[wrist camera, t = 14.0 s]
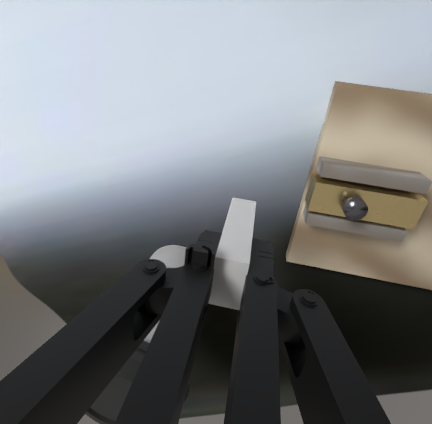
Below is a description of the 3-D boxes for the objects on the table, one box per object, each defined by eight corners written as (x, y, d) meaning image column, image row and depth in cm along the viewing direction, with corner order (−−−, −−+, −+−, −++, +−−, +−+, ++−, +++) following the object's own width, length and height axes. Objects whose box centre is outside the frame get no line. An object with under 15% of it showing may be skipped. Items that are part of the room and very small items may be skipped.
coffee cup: (228, 255, 30) (196, 402, 17) (203, 311, 34) (162, 462, 21) (148, 224, 30) (53, 348, 17) (133, 284, 34) (48, 420, 21)
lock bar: (312, 172, 23) (318, 188, 20) (415, 189, 23) (436, 208, 20) (304, 199, 24) (309, 217, 21) (402, 216, 24) (421, 237, 21)
